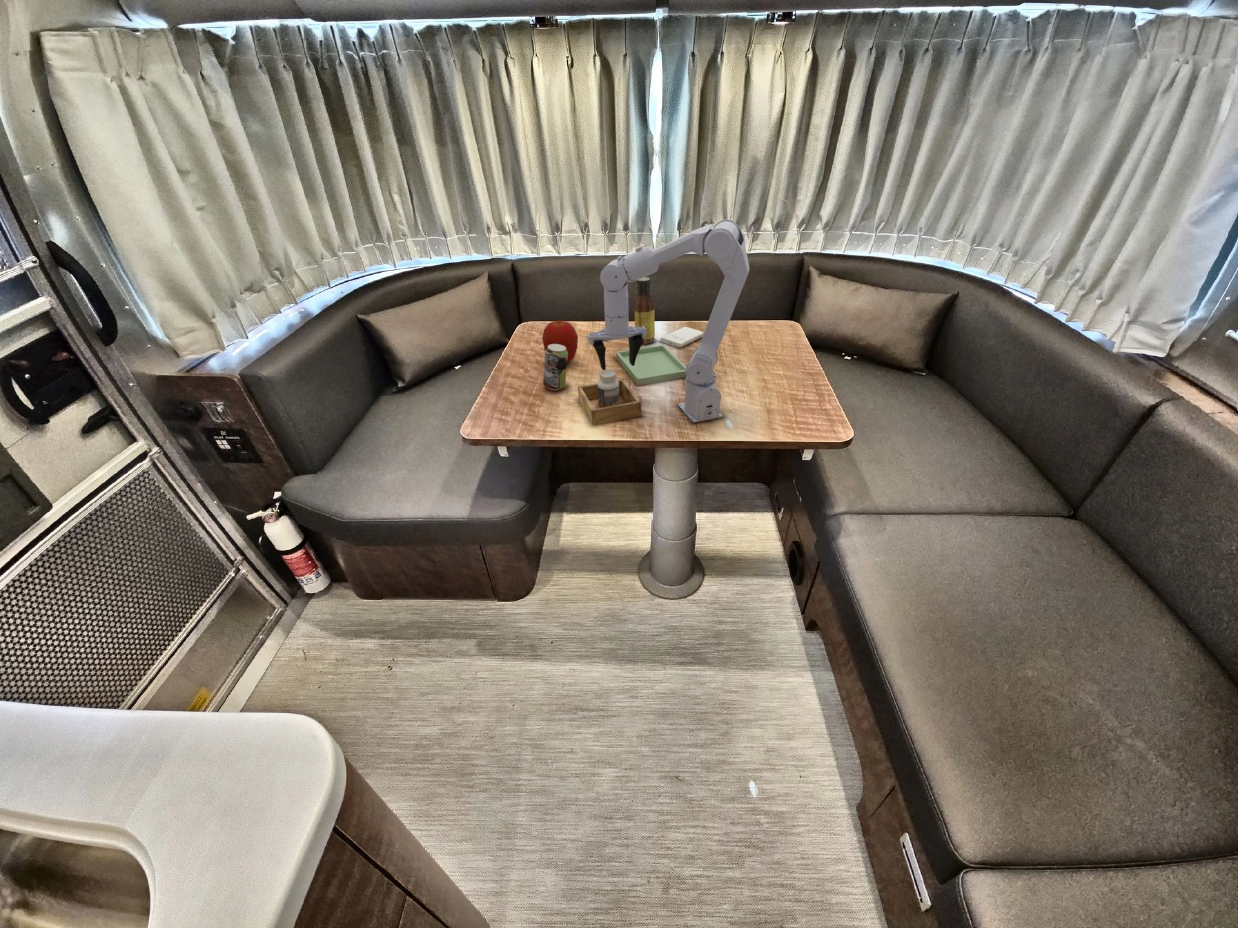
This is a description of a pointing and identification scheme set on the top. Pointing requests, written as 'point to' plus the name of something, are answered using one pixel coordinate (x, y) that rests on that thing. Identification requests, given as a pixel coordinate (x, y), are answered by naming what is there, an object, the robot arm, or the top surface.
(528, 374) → the top surface
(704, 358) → the robot arm
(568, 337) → the apple
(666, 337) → the hard drive
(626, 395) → the open wooden box
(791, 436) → the top surface
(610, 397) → the pill bottle
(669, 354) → the tray
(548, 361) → the beverage can
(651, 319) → the sauce bottle
